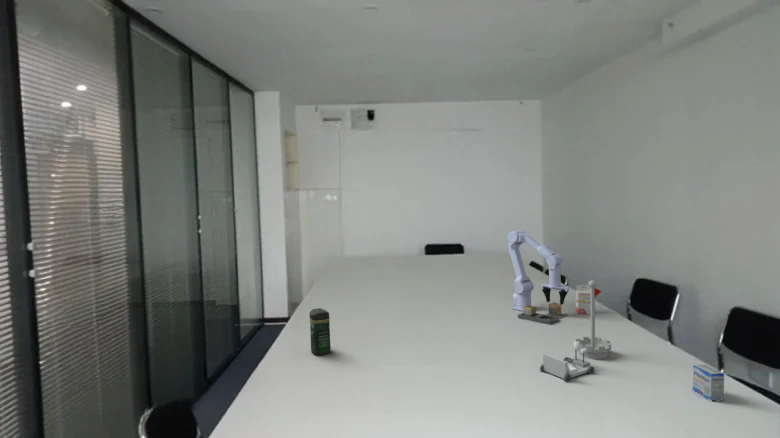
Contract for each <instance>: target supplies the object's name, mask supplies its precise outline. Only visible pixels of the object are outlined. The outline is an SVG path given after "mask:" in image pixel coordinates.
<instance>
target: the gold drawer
mask: <svg viewBox="0 0 780 438" xmlns="http://www.w3.org/2000/svg"><path fill="white" fill-rule="evenodd" d="M523 313H524V315H526V316H531V317H533V316H535V315H536V313H537V306H535V305H532V304H531V305H527V306H524V311H523Z"/></svg>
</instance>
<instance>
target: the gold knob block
mask: <svg viewBox="0 0 780 438" xmlns="http://www.w3.org/2000/svg"><path fill="white" fill-rule="evenodd" d="M548 313H549V315H550V316H556V317H557V316H560V315H561V314H562V305H561V304H560V302H550V303H548Z"/></svg>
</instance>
